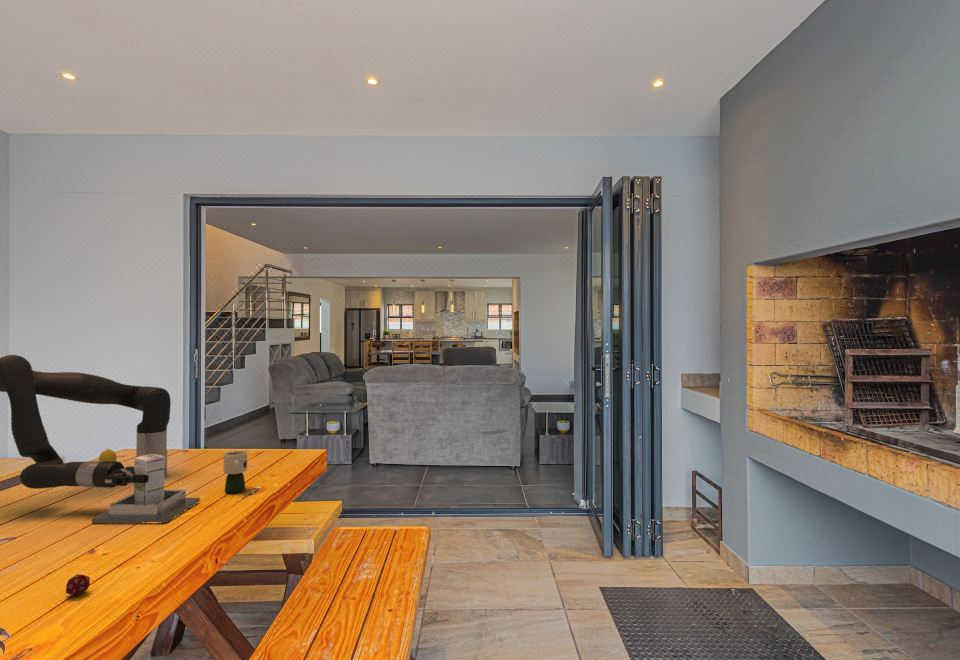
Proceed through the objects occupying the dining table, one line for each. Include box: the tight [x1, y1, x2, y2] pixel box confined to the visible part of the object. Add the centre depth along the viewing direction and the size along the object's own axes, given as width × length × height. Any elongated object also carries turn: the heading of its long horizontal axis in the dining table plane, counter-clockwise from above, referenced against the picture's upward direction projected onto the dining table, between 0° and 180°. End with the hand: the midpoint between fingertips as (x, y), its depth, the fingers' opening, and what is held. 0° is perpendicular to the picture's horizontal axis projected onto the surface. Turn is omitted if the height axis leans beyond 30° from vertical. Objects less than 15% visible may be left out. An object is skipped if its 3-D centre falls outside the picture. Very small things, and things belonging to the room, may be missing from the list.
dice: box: [65, 573, 91, 597], centre depth 102 cm, size 4×4×4 cm
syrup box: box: [133, 454, 165, 504], centre depth 149 cm, size 6×6×14 cm
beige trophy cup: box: [223, 450, 248, 493], centre depth 169 cm, size 11×7×13 cm, turn 30°
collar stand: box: [91, 489, 201, 524], centre depth 149 cm, size 18×20×4 cm
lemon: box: [98, 448, 117, 461], centre depth 194 cm, size 6×6×8 cm
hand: (156, 474), depth 149 cm, fingers closed on syrup box, 7 cm apart
